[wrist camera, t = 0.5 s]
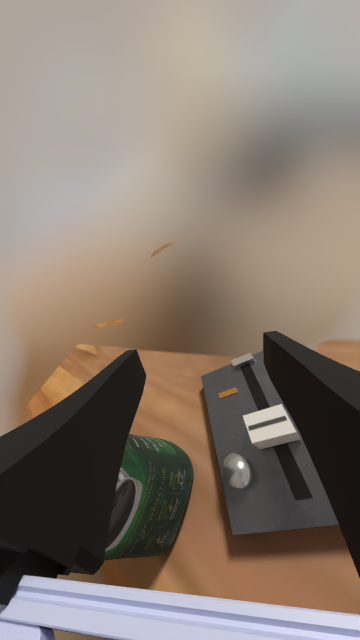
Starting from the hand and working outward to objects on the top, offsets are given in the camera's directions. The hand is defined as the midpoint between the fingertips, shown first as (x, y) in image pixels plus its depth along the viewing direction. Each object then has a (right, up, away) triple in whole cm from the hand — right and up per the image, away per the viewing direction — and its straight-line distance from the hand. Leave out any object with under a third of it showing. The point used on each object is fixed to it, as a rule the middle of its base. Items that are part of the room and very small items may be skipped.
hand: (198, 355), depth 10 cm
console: (+10, -10, +11) cm, 18 cm away
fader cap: (+9, -10, +8) cm, 16 cm away
